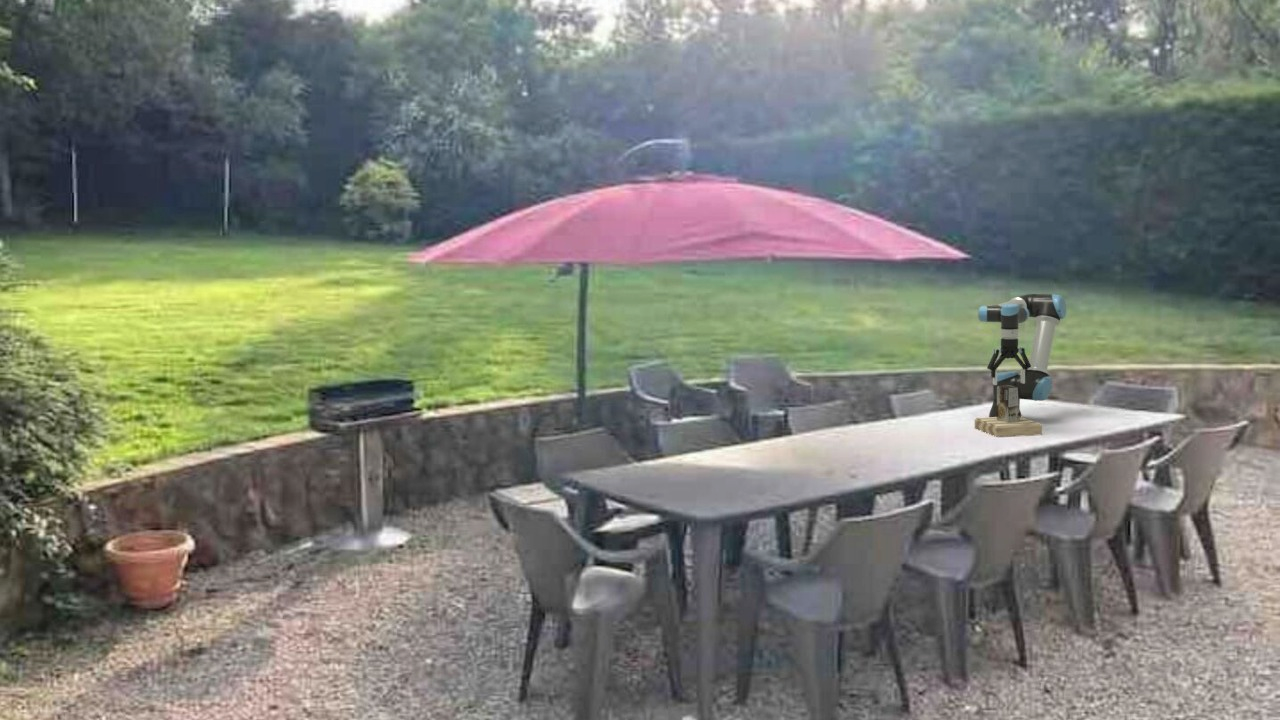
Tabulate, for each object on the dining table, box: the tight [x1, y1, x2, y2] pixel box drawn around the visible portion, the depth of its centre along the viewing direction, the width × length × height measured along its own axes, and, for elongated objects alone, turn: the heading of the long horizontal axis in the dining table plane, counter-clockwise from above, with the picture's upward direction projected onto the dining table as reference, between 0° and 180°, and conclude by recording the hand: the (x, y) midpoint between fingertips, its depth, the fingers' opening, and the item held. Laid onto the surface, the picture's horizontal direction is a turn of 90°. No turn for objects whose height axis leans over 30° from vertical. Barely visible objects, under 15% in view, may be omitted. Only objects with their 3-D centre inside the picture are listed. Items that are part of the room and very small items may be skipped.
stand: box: [974, 416, 1043, 438], centre depth 511 cm, size 22×22×5 cm
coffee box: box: [997, 385, 1021, 422], centre depth 509 cm, size 9×6×16 cm
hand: (1008, 384), depth 508 cm, fingers open, 13 cm apart
